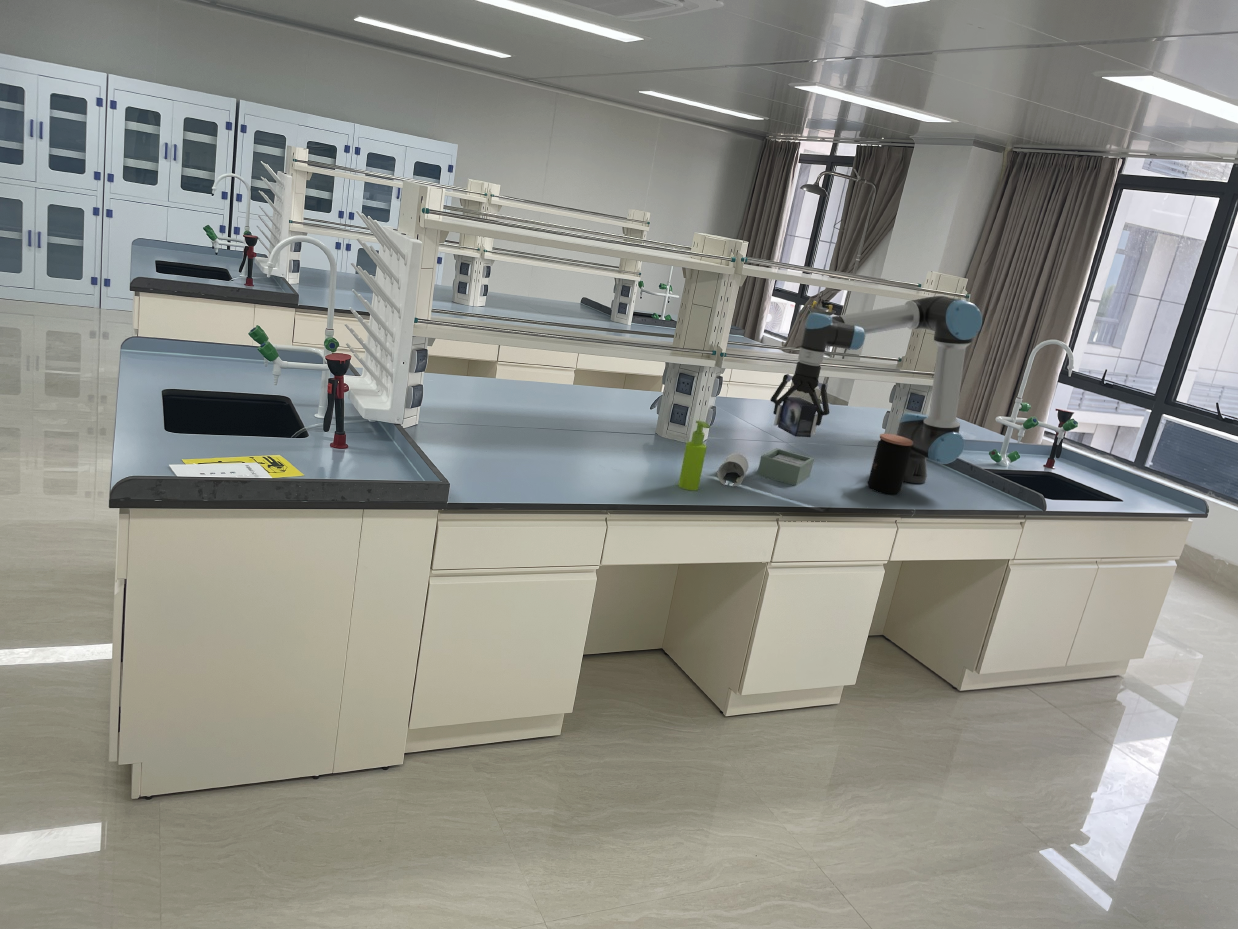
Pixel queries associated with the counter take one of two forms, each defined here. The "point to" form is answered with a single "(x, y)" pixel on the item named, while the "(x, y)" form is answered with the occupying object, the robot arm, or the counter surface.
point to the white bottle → (733, 467)
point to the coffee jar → (890, 464)
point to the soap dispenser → (693, 459)
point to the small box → (797, 416)
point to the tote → (785, 467)
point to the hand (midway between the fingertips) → (794, 429)
